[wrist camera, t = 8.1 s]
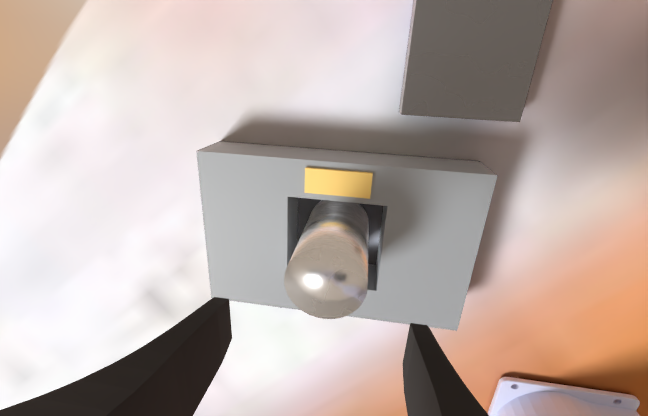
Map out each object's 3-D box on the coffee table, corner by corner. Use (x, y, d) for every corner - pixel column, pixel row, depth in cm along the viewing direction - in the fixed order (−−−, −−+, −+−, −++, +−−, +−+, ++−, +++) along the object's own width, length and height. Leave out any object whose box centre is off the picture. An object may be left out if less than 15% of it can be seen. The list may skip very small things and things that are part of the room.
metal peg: (365, 252, 22) (363, 323, 16) (308, 246, 23) (284, 313, 16) (371, 198, 21) (371, 252, 14) (310, 193, 21) (283, 243, 15)
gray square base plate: (541, -9, 16) (557, -17, 14) (508, 118, 18) (519, 122, 17) (415, -12, 16) (419, -20, 15) (399, 111, 19) (401, 114, 17)
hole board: (479, 161, 19) (499, 176, 16) (446, 300, 23) (457, 332, 20) (219, 141, 21) (194, 151, 18) (229, 273, 25) (210, 300, 22)
